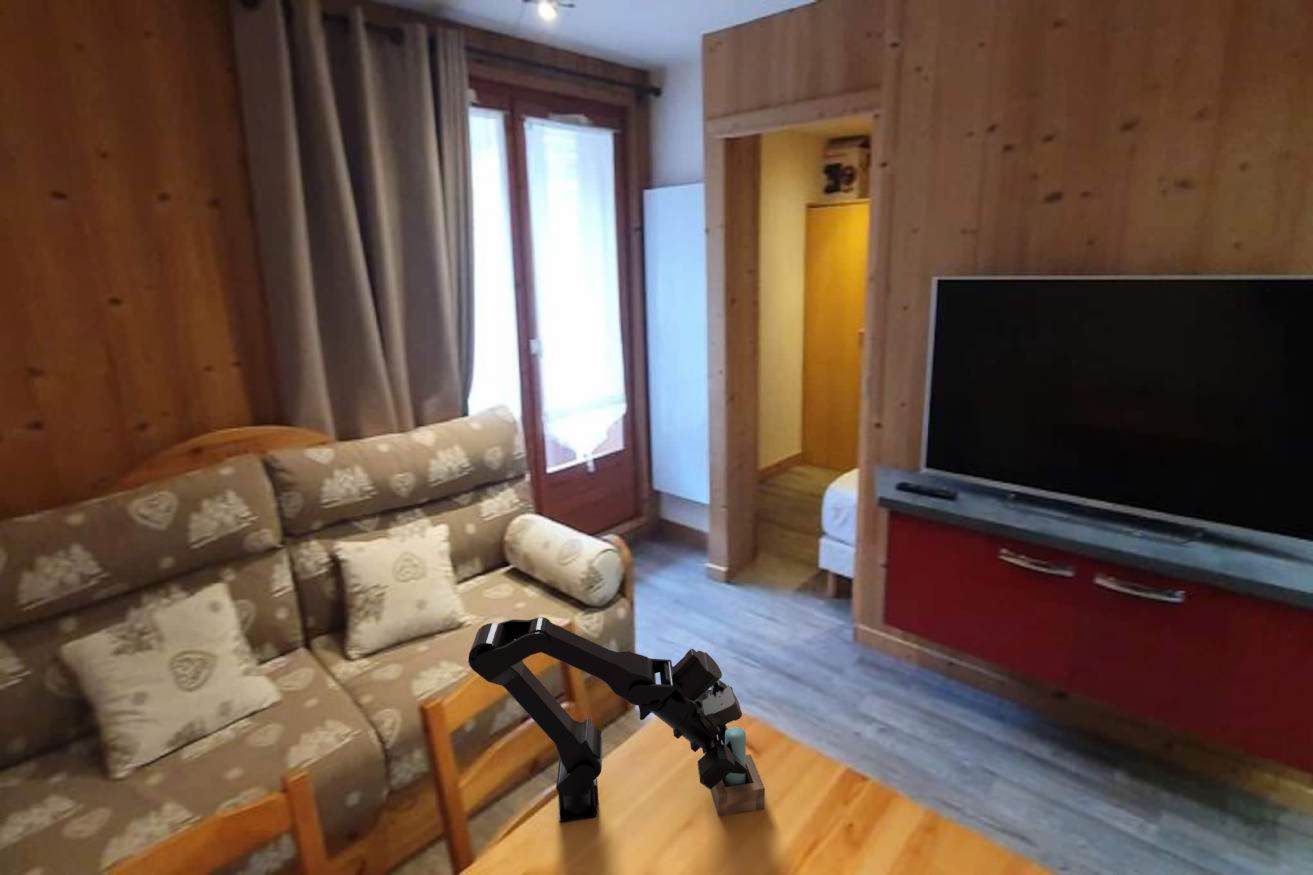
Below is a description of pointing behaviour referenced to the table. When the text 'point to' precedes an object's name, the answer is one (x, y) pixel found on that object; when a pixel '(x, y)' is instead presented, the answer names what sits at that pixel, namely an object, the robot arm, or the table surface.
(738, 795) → the hole block
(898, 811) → the table surface
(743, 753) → the teal cylinder rod
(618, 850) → the table surface
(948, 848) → the table surface
